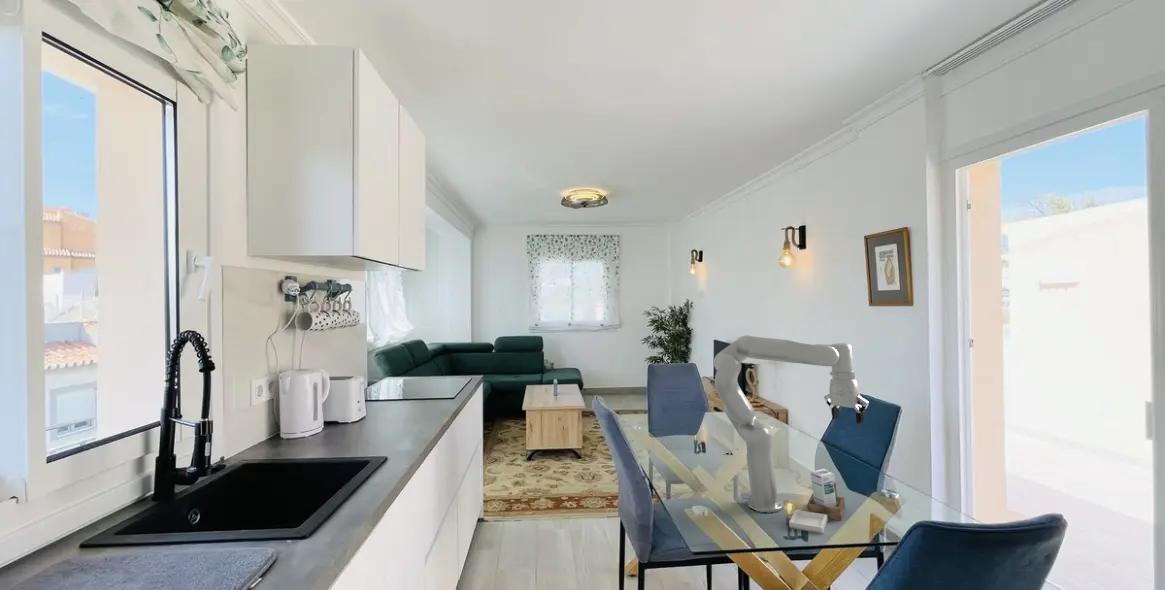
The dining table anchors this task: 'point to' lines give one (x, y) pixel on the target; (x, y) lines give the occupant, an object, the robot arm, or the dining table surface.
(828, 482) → the syrup box
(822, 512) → the holder collar
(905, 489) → the dining table surface
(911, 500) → the dining table surface
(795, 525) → the parts tray
